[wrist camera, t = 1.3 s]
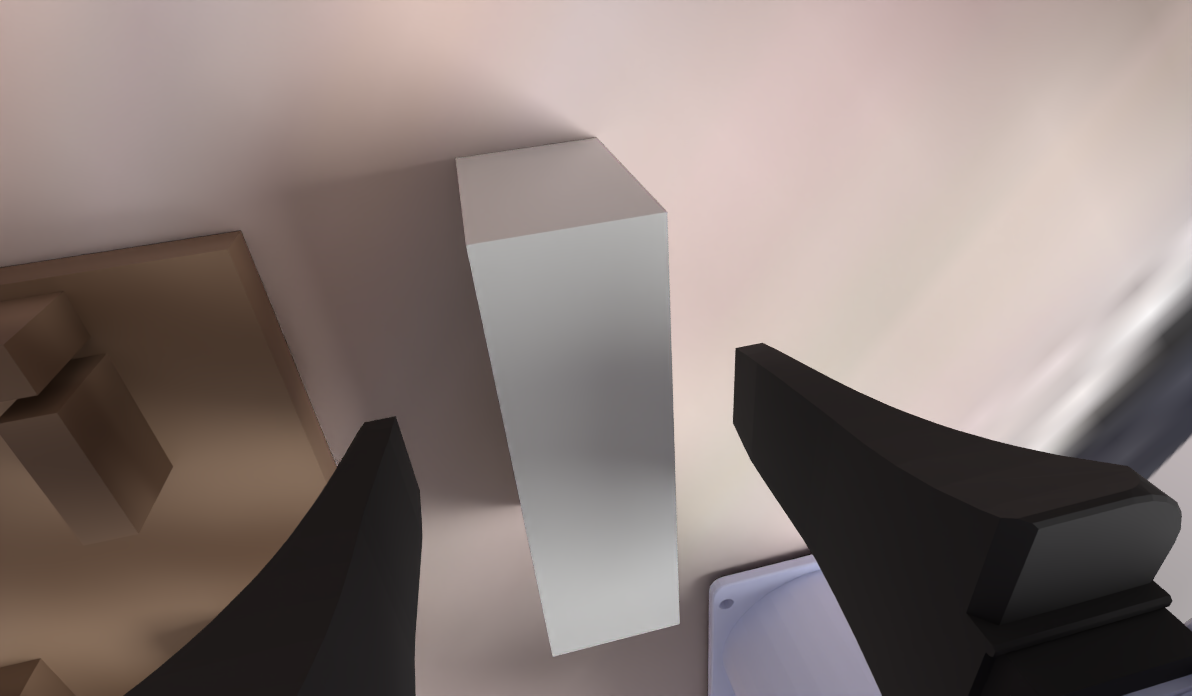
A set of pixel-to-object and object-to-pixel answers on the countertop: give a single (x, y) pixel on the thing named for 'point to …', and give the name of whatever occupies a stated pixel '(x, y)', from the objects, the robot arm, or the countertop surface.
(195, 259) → the rack
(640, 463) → the light gray block
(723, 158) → the countertop surface
